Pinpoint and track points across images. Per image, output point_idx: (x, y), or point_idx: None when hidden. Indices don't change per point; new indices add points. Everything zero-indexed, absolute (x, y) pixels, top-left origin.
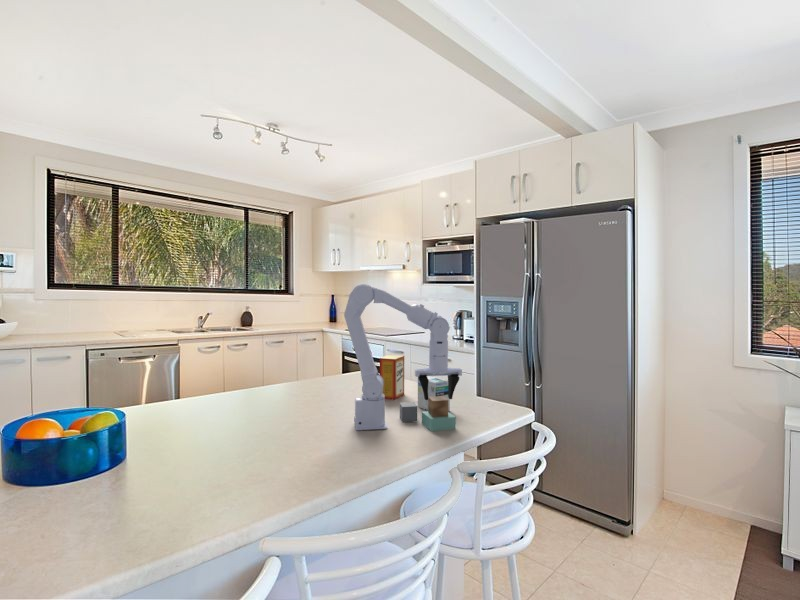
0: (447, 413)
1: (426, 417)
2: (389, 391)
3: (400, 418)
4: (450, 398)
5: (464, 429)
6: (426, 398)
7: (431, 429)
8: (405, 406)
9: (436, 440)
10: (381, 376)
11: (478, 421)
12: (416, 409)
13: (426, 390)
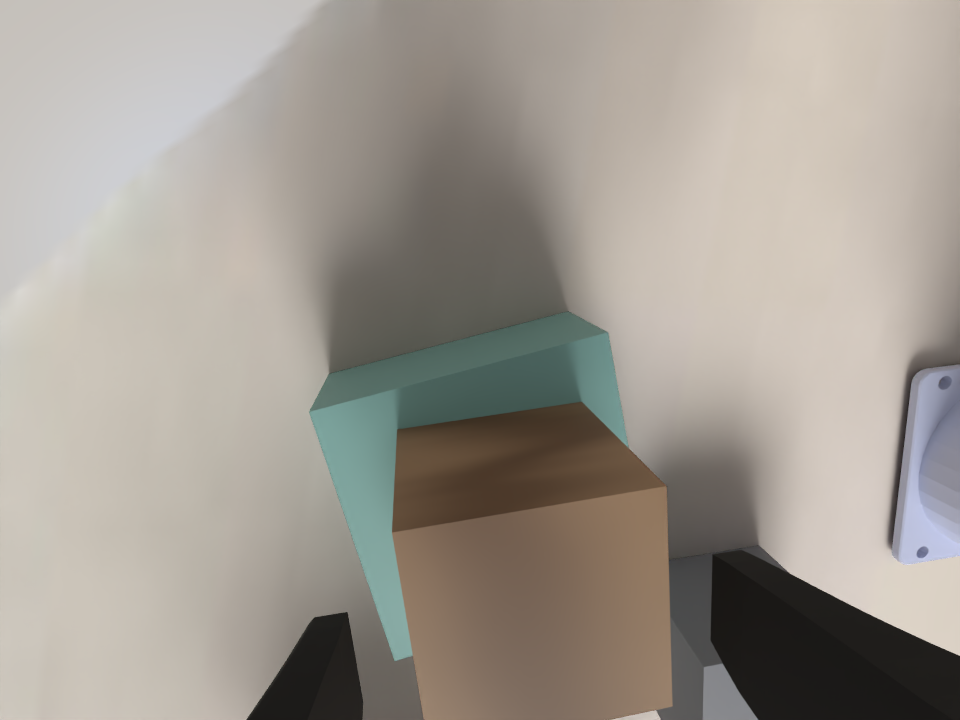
0: (405, 439)
1: None
2: None
3: None
4: (337, 619)
5: (241, 351)
6: (753, 559)
7: (569, 315)
8: None
9: (564, 47)
10: None
11: (66, 579)
12: (696, 638)
13: (877, 641)
